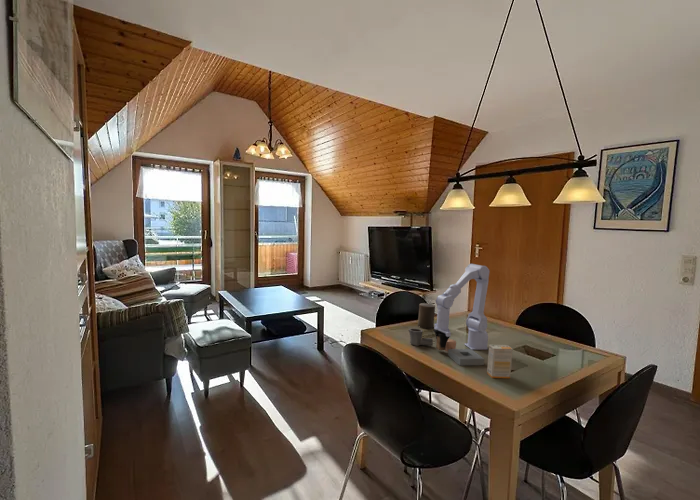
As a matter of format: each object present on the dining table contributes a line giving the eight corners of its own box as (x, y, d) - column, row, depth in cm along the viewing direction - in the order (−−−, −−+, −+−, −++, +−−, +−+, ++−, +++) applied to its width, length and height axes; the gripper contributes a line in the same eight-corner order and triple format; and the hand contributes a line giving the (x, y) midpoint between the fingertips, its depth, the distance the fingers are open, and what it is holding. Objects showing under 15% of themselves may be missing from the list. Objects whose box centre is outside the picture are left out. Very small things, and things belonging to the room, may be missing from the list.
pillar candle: (428, 329, 203) (430, 305, 202) (414, 325, 210) (416, 302, 209) (436, 327, 210) (438, 303, 209) (422, 323, 217) (424, 300, 216)
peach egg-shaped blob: (452, 348, 175) (453, 338, 174) (457, 352, 169) (458, 342, 169) (442, 348, 174) (442, 339, 173) (447, 352, 168) (447, 342, 168)
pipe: (432, 348, 172) (433, 333, 172) (407, 345, 175) (408, 330, 174) (432, 344, 178) (433, 330, 178) (407, 341, 181) (408, 327, 180)
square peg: (442, 347, 170) (443, 335, 170) (445, 350, 167) (446, 338, 166) (436, 347, 170) (437, 336, 169) (439, 350, 166) (439, 338, 166)
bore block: (470, 354, 167) (470, 348, 167) (483, 365, 155) (484, 358, 155) (447, 355, 165) (448, 349, 164) (459, 365, 153) (460, 359, 153)
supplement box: (504, 373, 147) (507, 344, 146) (510, 379, 142) (513, 348, 141) (486, 373, 146) (488, 343, 145) (491, 378, 142) (494, 348, 141)
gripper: (429, 315, 173) (427, 340, 175) (441, 323, 159) (439, 351, 160) (442, 315, 175) (440, 340, 176) (455, 323, 160) (453, 351, 161)
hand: (441, 345), depth 168 cm, fingers closed on square peg, 3 cm apart
